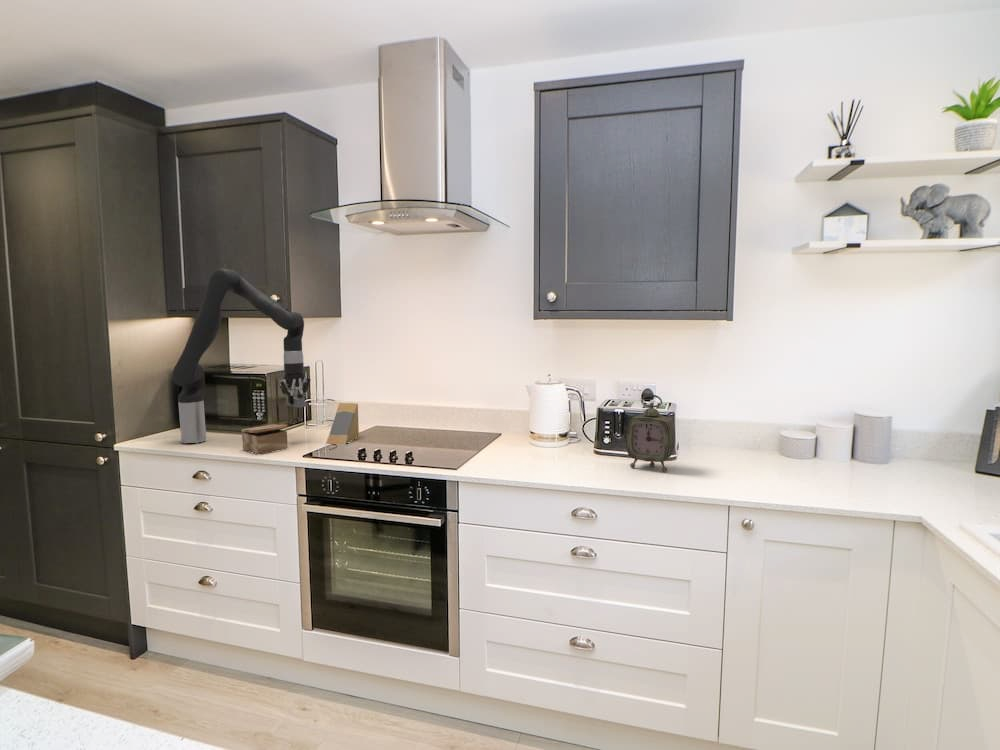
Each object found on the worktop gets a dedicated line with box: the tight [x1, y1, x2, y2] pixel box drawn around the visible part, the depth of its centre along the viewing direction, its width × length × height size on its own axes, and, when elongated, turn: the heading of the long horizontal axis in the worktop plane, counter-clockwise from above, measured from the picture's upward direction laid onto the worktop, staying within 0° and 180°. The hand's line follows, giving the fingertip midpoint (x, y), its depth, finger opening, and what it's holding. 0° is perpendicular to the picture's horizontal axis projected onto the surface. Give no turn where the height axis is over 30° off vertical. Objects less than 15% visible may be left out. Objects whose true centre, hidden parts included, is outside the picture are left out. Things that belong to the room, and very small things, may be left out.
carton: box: [241, 429, 289, 455], centre depth 224 cm, size 12×12×7 cm
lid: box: [240, 423, 288, 433], centre depth 223 cm, size 12×12×1 cm
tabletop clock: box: [625, 394, 676, 473], centre depth 191 cm, size 14×9×25 cm, turn 59°
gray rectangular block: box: [285, 396, 306, 409], centre depth 233 cm, size 10×3×3 cm, turn 48°
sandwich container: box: [325, 402, 360, 445], centre depth 237 cm, size 9×15×15 cm, turn 172°
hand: (295, 403), depth 233 cm, fingers closed on gray rectangular block, 3 cm apart
